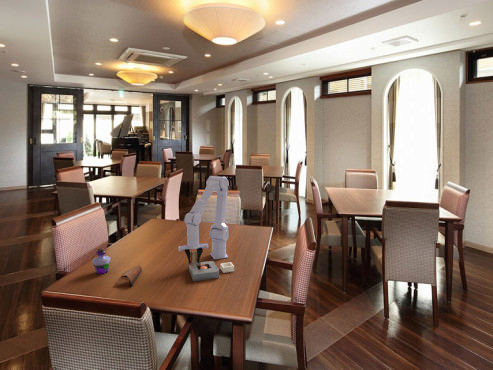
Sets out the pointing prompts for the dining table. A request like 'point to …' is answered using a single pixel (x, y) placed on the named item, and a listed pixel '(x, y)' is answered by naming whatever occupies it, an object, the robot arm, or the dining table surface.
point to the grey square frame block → (203, 271)
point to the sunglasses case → (128, 277)
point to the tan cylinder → (193, 257)
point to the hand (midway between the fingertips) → (193, 263)
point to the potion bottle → (101, 261)
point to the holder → (227, 267)
